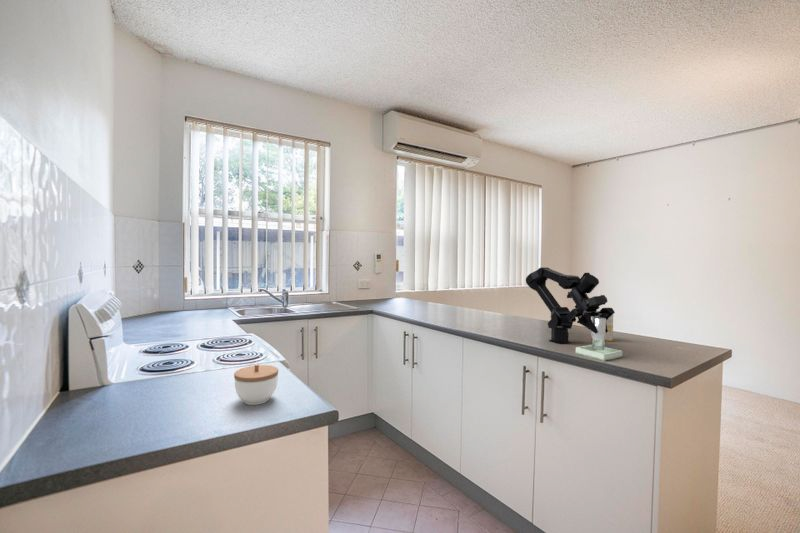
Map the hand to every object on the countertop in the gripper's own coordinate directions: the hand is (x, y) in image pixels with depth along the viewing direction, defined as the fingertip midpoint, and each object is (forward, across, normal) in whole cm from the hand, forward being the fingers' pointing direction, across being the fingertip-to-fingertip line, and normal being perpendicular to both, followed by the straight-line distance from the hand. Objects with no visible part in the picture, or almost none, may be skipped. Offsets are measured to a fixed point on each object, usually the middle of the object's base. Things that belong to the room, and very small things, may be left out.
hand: (601, 332), depth 142 cm
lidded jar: (+17, -124, -4) cm, 125 cm away
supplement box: (-10, +23, +24) cm, 34 cm away
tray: (+6, 0, +7) cm, 9 cm away
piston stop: (+4, 0, +6) cm, 7 cm away
